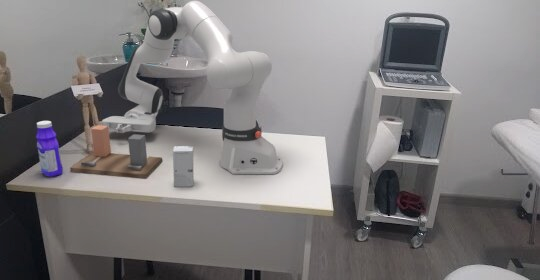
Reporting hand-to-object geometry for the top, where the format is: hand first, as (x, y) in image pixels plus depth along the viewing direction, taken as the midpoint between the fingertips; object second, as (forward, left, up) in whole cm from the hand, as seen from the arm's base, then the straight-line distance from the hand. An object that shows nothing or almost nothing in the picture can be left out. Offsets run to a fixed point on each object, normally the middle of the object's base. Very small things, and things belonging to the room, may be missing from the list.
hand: (119, 130), depth 155 cm
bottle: (+10, +27, -6) cm, 30 cm away
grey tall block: (-16, +19, -4) cm, 25 cm away
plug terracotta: (0, +13, -4) cm, 14 cm away
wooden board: (-8, +18, -6) cm, 21 cm away
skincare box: (-34, +26, -6) cm, 43 cm away
